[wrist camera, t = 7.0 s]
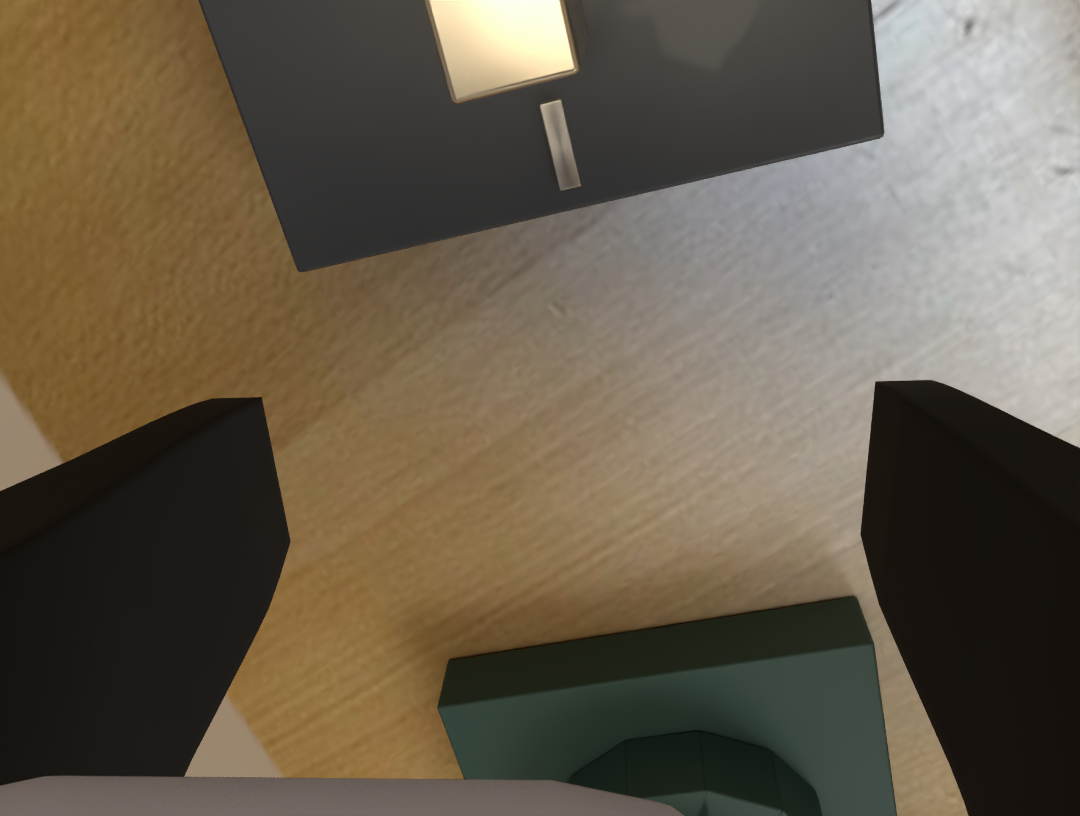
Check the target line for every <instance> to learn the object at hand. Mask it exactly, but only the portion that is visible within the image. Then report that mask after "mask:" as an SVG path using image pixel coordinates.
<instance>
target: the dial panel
mask: <svg viewBox="0 0 1080 816" xmlns="http://www.w3.org/2000/svg"><path fill="white" fill-rule="evenodd" d="M199 3H200V6H201V9H202V11H203V14H204V17H205V19H206V22H207V25H208V28H209V30H210V33H211V36H212V38H213V41H214V44H215V47H216V49H217V52H218V55H219V58H220V60H221V63H222V66H223V68H224V71H225V74H226V77H227V79H228V82H229V85H230V88H231V90H232V93H233V96H234V98H235V101H236V104H237V107H238V109H239V112H240V115H241V117H242V120H243V123H244V126H245V128H246V131H247V134H248V137H249V139H250V142H251V145H252V147H253V150H254V153H255V156H256V158H257V161H258V164H259V167H260V169H261V172H262V175H263V177H264V180H265V183H266V186H267V188H268V191H269V194H270V196H271V199H272V202H273V205H274V207H275V210H276V213H277V216H278V218H279V221H280V224H281V226H282V229H283V232H284V235H285V237H286V240H287V243H288V246H289V248H290V251H291V254H292V256H293V259H294V262H295V265H296V267H297V270H298V271H299V272H307V271H311V270H315V269H320V268H324V267H328V266H333V265H337V264H341V263H345V262H350V261H354V260H358V259H363V258H367V257H371V256H376V255H380V254H384V253H389V252H393V251H397V250H401V249H406V248H410V247H414V246H419V245H423V244H427V243H432V242H436V241H440V240H445V239H449V238H453V237H458V236H462V235H466V234H470V233H475V232H479V231H483V230H488V229H492V228H496V227H501V226H505V225H509V224H514V223H518V222H522V221H527V220H531V219H535V218H539V217H544V216H548V215H552V214H557V213H561V212H565V211H570V210H574V209H578V208H583V207H587V206H591V205H595V204H600V203H604V202H608V201H613V200H617V199H621V198H626V197H630V196H634V195H639V194H643V193H647V192H652V191H656V190H660V189H664V188H669V187H673V186H677V185H682V184H686V183H690V182H695V181H699V180H703V179H708V178H712V177H716V176H721V175H725V174H729V173H733V172H738V171H742V170H746V169H751V168H755V167H759V166H764V165H768V164H772V163H777V162H781V161H785V160H790V159H794V158H798V157H802V156H807V155H811V154H815V153H820V152H824V151H828V150H833V149H837V148H841V147H846V146H850V145H854V144H858V143H863V142H867V141H871V140H876V139H880V138H881V137H883V135H884V123H883V113H882V103H881V93H880V83H879V73H878V63H877V54H876V44H875V34H874V24H873V14H872V4H871V0H581V5H582V10H583V14H584V19H585V24H586V28H587V33H588V42H587V46H586V50H585V54H584V57H583V61H582V65H581V69H580V72H578V73H577V74H576V75H573V76H569V77H565V78H561V79H557V80H553V81H549V82H545V83H541V84H537V85H533V86H529V87H525V88H521V89H517V90H514V91H510V92H506V93H502V94H498V95H494V96H490V97H486V98H482V99H478V100H474V101H470V102H466V103H462V104H455V103H453V101H452V100H451V99H450V95H449V92H448V88H447V84H446V81H445V77H444V73H443V70H442V66H441V63H440V59H439V55H438V52H437V48H436V44H435V41H434V37H433V33H432V30H431V26H430V23H429V19H428V15H427V12H426V8H425V4H424V1H423V0H199Z"/></svg>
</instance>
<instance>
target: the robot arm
mask: <svg viewBox="0 0 1080 816" xmlns="http://www.w3.org/2000/svg"><path fill="white" fill-rule="evenodd" d="M861 538H862V542H863V546H864V550H865V554H866V558H867V562H868V566H869V570H870V573H871V577H872V581H873V584H874V588H875V591H876V595H877V598H878V602H879V605H880V607H881V610H882V612H883V614H884V617H885V619H886V622H887V624H888V626H889V629H890V631H891V633H892V635H893V638H894V640H895V642H896V645H897V647H898V649H899V652H900V654H901V656H902V658H903V661H904V663H905V665H906V667H907V670H908V672H909V674H910V676H911V679H912V681H913V683H914V685H915V688H916V690H917V692H918V694H919V697H920V699H921V701H922V703H923V706H924V708H925V710H926V712H927V715H928V717H929V719H930V721H931V724H932V726H933V728H934V730H935V733H936V735H937V737H938V739H939V742H940V744H941V746H942V748H943V751H944V753H945V755H946V757H947V760H948V762H949V764H950V767H951V769H952V772H953V774H954V777H955V780H956V782H957V785H958V787H959V790H960V792H961V795H962V798H963V800H964V803H965V806H966V809H967V812H968V815H969V816H1080V448H1078V447H1076V446H1074V445H1072V444H1070V443H1068V442H1065V441H1063V440H1061V439H1059V438H1057V437H1055V436H1053V435H1051V434H1049V433H1047V432H1045V431H1042V430H1040V429H1038V428H1036V427H1034V426H1032V425H1030V424H1028V423H1026V422H1024V421H1022V420H1020V419H1018V418H1016V417H1014V416H1012V415H1010V414H1008V413H1006V412H1004V411H1002V410H1000V409H998V408H996V407H994V406H992V405H990V404H988V403H985V402H983V401H981V400H979V399H977V398H975V397H973V396H971V395H969V394H966V393H964V392H962V391H960V390H958V389H955V388H953V387H950V386H948V385H945V384H943V383H939V382H936V381H933V380H915V381H876V382H875V392H874V402H873V412H872V422H871V433H870V443H869V453H868V463H867V474H866V484H865V494H864V505H863V515H862V525H861ZM289 545H290V537H289V532H288V527H287V522H286V517H285V512H284V507H283V502H282V497H281V492H280V487H279V482H278V477H277V472H276V467H275V462H274V457H273V452H272V447H271V442H270V437H269V432H268V427H267V422H266V417H265V412H264V407H263V402H262V397H254V398H215V399H209V400H206V401H202V402H199V403H196V404H193V405H190V406H187V407H185V408H182V409H180V410H177V411H175V412H173V413H170V414H168V415H166V416H164V417H161V418H159V419H157V420H155V421H153V422H150V423H148V424H146V425H144V426H142V427H140V428H138V429H135V430H133V431H131V432H129V433H127V434H125V435H123V436H121V437H119V438H117V439H114V440H112V441H110V442H108V443H106V444H104V445H102V446H100V447H98V448H95V449H93V450H91V451H89V452H87V453H85V454H83V455H81V456H79V457H76V458H74V459H72V460H70V461H68V462H65V463H63V464H61V465H59V466H56V467H54V468H52V469H50V470H47V471H45V472H43V473H40V474H38V475H36V476H34V477H32V478H29V479H27V480H25V481H22V482H20V483H18V484H16V485H13V486H11V487H9V488H6V489H5V490H2V491H0V816H684V815H683V814H681V813H680V812H678V811H677V810H676V809H674V808H673V807H672V806H669V805H666V804H663V803H660V802H656V801H651V800H646V799H641V798H636V797H631V796H627V795H622V794H617V793H612V792H607V791H602V790H597V789H592V788H587V787H583V786H578V785H573V784H568V783H563V782H558V781H553V780H482V779H372V778H262V777H261V778H260V777H259V778H257V777H256V778H255V777H184V776H185V773H186V771H187V769H188V767H189V765H190V762H191V760H192V758H193V756H194V754H195V752H196V750H197V748H198V746H199V745H200V742H201V741H202V739H203V737H204V735H205V733H206V731H207V729H208V727H209V725H210V723H211V721H212V719H213V717H214V716H215V714H216V712H217V710H218V708H219V706H220V704H221V702H222V700H223V698H224V696H225V694H226V692H227V690H228V688H229V686H230V685H231V683H232V681H233V679H234V677H235V675H236V673H237V671H238V669H239V667H240V665H241V663H242V661H243V659H244V657H245V655H246V653H247V651H248V649H249V647H250V645H251V643H252V641H253V639H254V637H255V636H256V634H257V632H258V630H259V628H260V626H261V623H262V621H263V619H264V617H265V615H266V613H267V611H268V609H269V606H270V604H271V601H272V598H273V595H274V592H275V589H276V586H277V583H278V580H279V578H280V574H281V571H282V568H283V564H284V561H285V558H286V554H287V551H288V548H289Z"/></svg>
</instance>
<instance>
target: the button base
mask: <svg viewBox="0 0 1080 816" xmlns="http://www.w3.org/2000/svg"><path fill="white" fill-rule="evenodd" d="M438 711H439V713H440V716H441V719H442V721H443V724H444V726H445V729H446V732H447V734H448V737H449V740H450V742H451V745H452V748H453V750H454V753H455V756H456V758H457V761H458V763H459V766H460V769H461V771H462V774H463V777H464V779H482V780H553V781H558V782H563V783H568V784H573V785H578V786H583V787H587V788H592V789H597V790H602V791H607V792H612V793H617V794H622V795H627V796H631V797H636V798H641V799H646V800H651V801H656V802H660V803H663V804H666V805H669V806H672V807H673V808H674V809H676V810H677V811H678V812H680V813H681V814H683V815H684V816H897V812H896V805H895V797H894V790H893V782H892V775H891V767H890V760H889V752H888V745H887V738H886V730H885V723H884V715H883V708H882V700H881V693H880V685H879V678H878V670H877V663H876V655H875V648H874V642H873V640H872V637H871V634H870V631H869V629H868V626H867V623H866V621H865V618H864V615H863V613H862V610H861V607H860V605H859V602H858V600H857V598H856V597H852V598H845V599H839V600H833V601H826V602H820V603H813V604H807V605H801V606H794V607H788V608H782V609H775V610H769V611H762V612H756V613H750V614H743V615H737V616H730V617H724V618H718V619H711V620H705V621H699V622H692V623H686V624H679V625H673V626H667V627H660V628H654V629H648V630H641V631H635V632H628V633H622V634H616V635H609V636H603V637H596V638H590V639H584V640H577V641H571V642H565V643H558V644H552V645H545V646H539V647H533V648H526V649H520V650H514V651H507V652H501V653H494V654H488V655H482V656H475V657H469V658H462V659H456V660H450V661H448V664H447V668H446V673H445V677H444V682H443V686H442V690H441V695H440V699H439V703H438Z"/></svg>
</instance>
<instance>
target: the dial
mask: <svg viewBox="0 0 1080 816" xmlns="http://www.w3.org/2000/svg"><path fill="white" fill-rule="evenodd" d="M423 1H424V4H425V8H426V12H427V15H428V19H429V23H430V26H431V30H432V33H433V37H434V41H435V44H436V48H437V52H438V55H439V59H440V63H441V66H442V70H443V73H444V77H445V81H446V84H447V88H448V92H449V95H450V99H451V100H452V101H453V103H455V104H462V103H466V102H470V101H474V100H478V99H482V98H486V97H490V96H494V95H498V94H502V93H506V92H510V91H514V90H517V89H521V88H525V87H529V86H533V85H537V84H541V83H545V82H549V81H553V80H557V79H561V78H565V77H569V76H573V75H576V74H577V73H578V72H580V69H581V65H582V61H583V57H584V54H585V50H586V46H587V42H588V33H587V28H586V24H585V19H584V14H583V10H582V5H581V0H423Z"/></svg>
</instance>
